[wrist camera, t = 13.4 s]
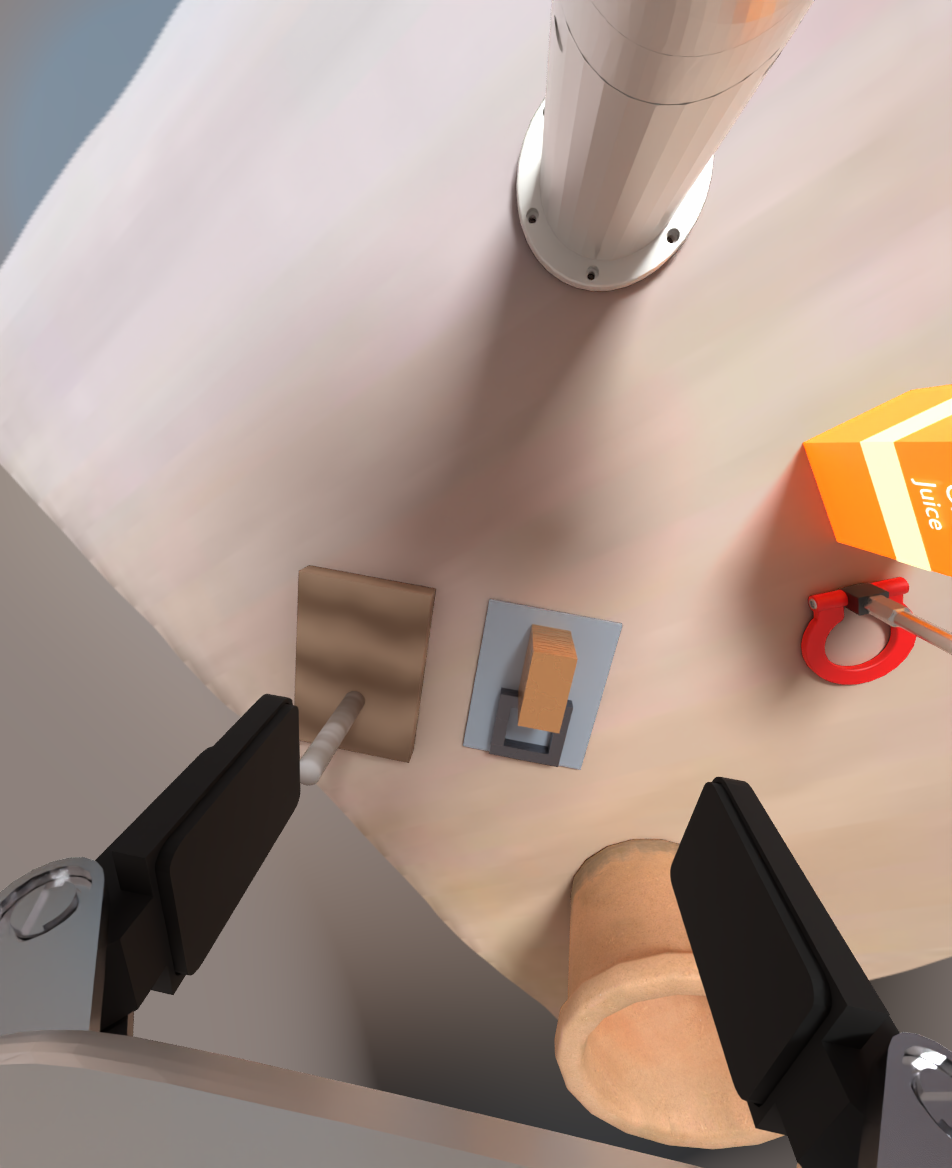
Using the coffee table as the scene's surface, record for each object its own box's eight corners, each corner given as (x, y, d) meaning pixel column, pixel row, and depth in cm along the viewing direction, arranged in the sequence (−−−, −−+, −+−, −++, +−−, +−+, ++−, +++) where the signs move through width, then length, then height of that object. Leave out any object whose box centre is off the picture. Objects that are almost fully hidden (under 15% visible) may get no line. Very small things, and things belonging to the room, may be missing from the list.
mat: (489, 598, 40) (489, 600, 39) (621, 623, 39) (622, 625, 39) (463, 743, 45) (462, 745, 44) (579, 767, 44) (580, 769, 44)
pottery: (515, 849, 48) (512, 1008, 35) (716, 792, 43) (805, 951, 30) (589, 978, 53) (612, 1162, 40) (778, 940, 48) (878, 1134, 35)
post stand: (309, 565, 40) (225, 612, 29) (435, 588, 40) (401, 646, 28) (302, 727, 46) (230, 819, 35) (413, 749, 46) (377, 851, 34)
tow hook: (905, 667, 38) (907, 570, 35) (1083, 780, 26) (1108, 647, 23) (800, 685, 40) (794, 594, 37) (923, 801, 28) (928, 678, 25)
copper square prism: (514, 620, 40) (512, 647, 34) (588, 634, 39) (598, 663, 34) (490, 745, 44) (485, 786, 39) (557, 758, 44) (561, 801, 38)
